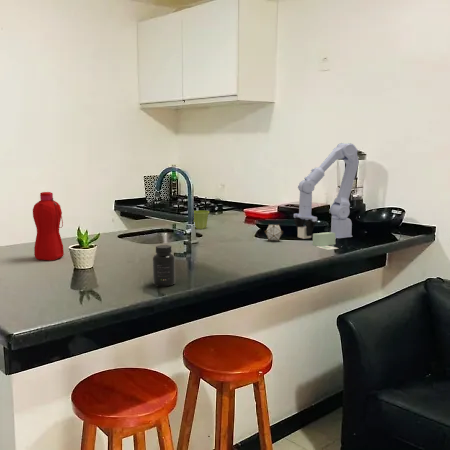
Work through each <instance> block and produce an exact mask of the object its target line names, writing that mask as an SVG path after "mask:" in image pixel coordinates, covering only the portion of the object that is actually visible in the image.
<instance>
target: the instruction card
mask: <svg viewBox="0 0 450 450" xmlns="http://www.w3.org/2000/svg"><path fill="white" fill-rule="evenodd" d="M314 246H315V245H314ZM315 248H318V249H319V248H320V249H323V250H327V251H329V250H331V251H332V250H337V249H339V248H338V247H336V246H332V245H326V246H315Z"/></svg>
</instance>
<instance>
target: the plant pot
mask: <svg viewBox="0 0 450 450" xmlns="http://www.w3.org/2000/svg"><path fill="white" fill-rule="evenodd" d="M193 211H194V220H193V223H194V222H195V226H196V228H195V229H197V230H203V229H207V226H208V219H209V218H208V217H209V214H210V211H209V210H193Z"/></svg>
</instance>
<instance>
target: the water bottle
mask: <svg viewBox="0 0 450 450" xmlns="http://www.w3.org/2000/svg"><path fill="white" fill-rule="evenodd" d="M53 195H54V194H53V192H51V191H43V192H40V194H39V198H40V200H39V201H37V202H36V203H35V204H34V205H33V208H32V218H33V221H34V224H35V228H36V237H35V241H34V247H33V249H34V250H33V252H34V254H33V255H34V258H35V259H37V260H39V261H56V260H58V259H61V258H63V256H64V255H65V253H64V245H63V241H62V237H61V234H60V229H61V228H62V227H63V226H64V224H63V223H64V222H63V216H62V215H63V212H62V209H61V207H62V206H61V205H60V203H58V202H57V201H56V200H54V196H53ZM60 226H61V227H60Z"/></svg>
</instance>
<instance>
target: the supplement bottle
mask: <svg viewBox="0 0 450 450" xmlns="http://www.w3.org/2000/svg"><path fill="white" fill-rule="evenodd" d="M172 250H173V249H172V245H170V244H159V245H156V246H155V253H156V254H154V256H153V257H152V281H153V282H152V283H153V285H154V284H155V285H154V286H156V285H158V286H157V287H160V286H167V287H170V286H169V285H172V286H173V284H174V285H175V284H176V258H175V256H174V254H172V252H173V251H172Z"/></svg>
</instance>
